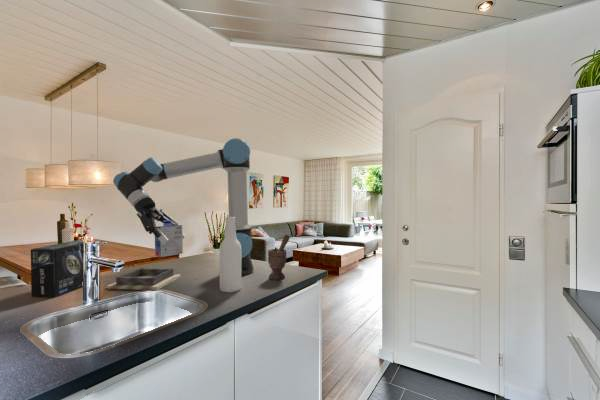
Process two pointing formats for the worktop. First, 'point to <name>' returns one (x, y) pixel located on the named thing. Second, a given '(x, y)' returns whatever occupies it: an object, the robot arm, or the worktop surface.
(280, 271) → the mortar and pestle
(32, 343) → the worktop surface
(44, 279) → the box
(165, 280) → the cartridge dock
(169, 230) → the ink cartridge box
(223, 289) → the alcohol
